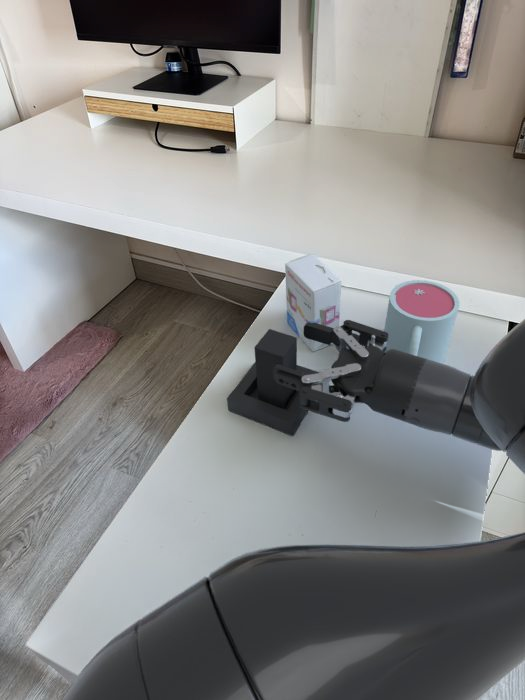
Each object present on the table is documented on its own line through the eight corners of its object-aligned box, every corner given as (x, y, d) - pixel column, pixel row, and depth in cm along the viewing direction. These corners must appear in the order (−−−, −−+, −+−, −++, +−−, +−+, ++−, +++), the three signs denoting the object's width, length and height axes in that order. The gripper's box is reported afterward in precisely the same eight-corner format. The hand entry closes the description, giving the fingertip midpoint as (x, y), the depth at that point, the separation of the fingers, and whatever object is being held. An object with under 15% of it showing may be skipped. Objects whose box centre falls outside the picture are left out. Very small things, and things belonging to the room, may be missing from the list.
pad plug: (284, 410, 68) (282, 356, 61) (258, 400, 70) (254, 347, 63) (296, 390, 71) (297, 337, 64) (271, 381, 72) (269, 328, 65)
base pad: (293, 436, 66) (293, 424, 64) (228, 410, 69) (226, 398, 67) (323, 386, 72) (324, 373, 70) (262, 365, 75) (261, 352, 74)
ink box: (284, 322, 83) (283, 260, 75) (310, 312, 84) (312, 251, 76) (312, 353, 77) (313, 290, 69) (339, 342, 78) (344, 279, 70)
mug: (387, 327, 80) (395, 275, 74) (447, 339, 78) (462, 286, 71) (369, 387, 71) (377, 334, 64) (437, 403, 69) (453, 349, 62)
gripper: (441, 329, 59) (313, 294, 65) (405, 414, 50) (261, 364, 56) (430, 374, 64) (312, 337, 70) (395, 458, 55) (264, 408, 61)
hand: (290, 349), depth 63 cm, fingers open, 8 cm apart
